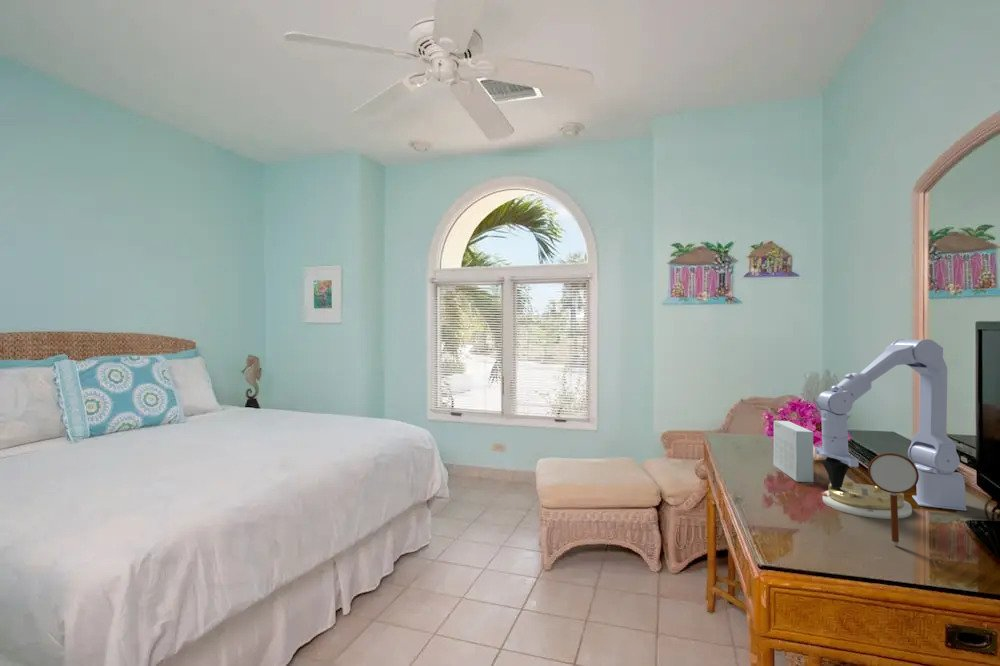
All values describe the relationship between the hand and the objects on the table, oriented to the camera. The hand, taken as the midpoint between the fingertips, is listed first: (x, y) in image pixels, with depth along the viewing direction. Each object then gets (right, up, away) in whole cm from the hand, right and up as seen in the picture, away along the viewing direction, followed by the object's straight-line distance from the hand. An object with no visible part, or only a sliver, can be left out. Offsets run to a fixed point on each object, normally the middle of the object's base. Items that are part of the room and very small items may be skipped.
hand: (836, 487), depth 131 cm
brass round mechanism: (+7, -3, -1) cm, 8 cm away
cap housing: (+7, -5, -1) cm, 8 cm away
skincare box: (+6, -5, +30) cm, 32 cm away
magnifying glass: (-5, -5, -25) cm, 26 cm away
